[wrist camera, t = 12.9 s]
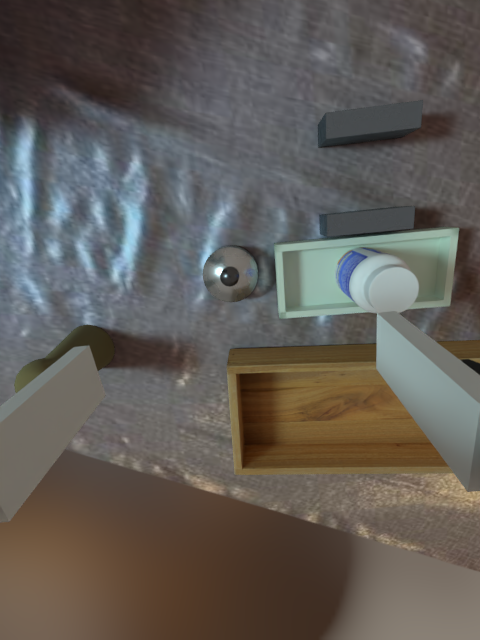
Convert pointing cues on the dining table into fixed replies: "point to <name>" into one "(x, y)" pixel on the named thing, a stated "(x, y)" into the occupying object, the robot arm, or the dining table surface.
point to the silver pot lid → (230, 273)
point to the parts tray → (323, 254)
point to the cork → (78, 337)
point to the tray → (325, 413)
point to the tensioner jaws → (364, 129)
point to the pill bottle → (376, 280)
